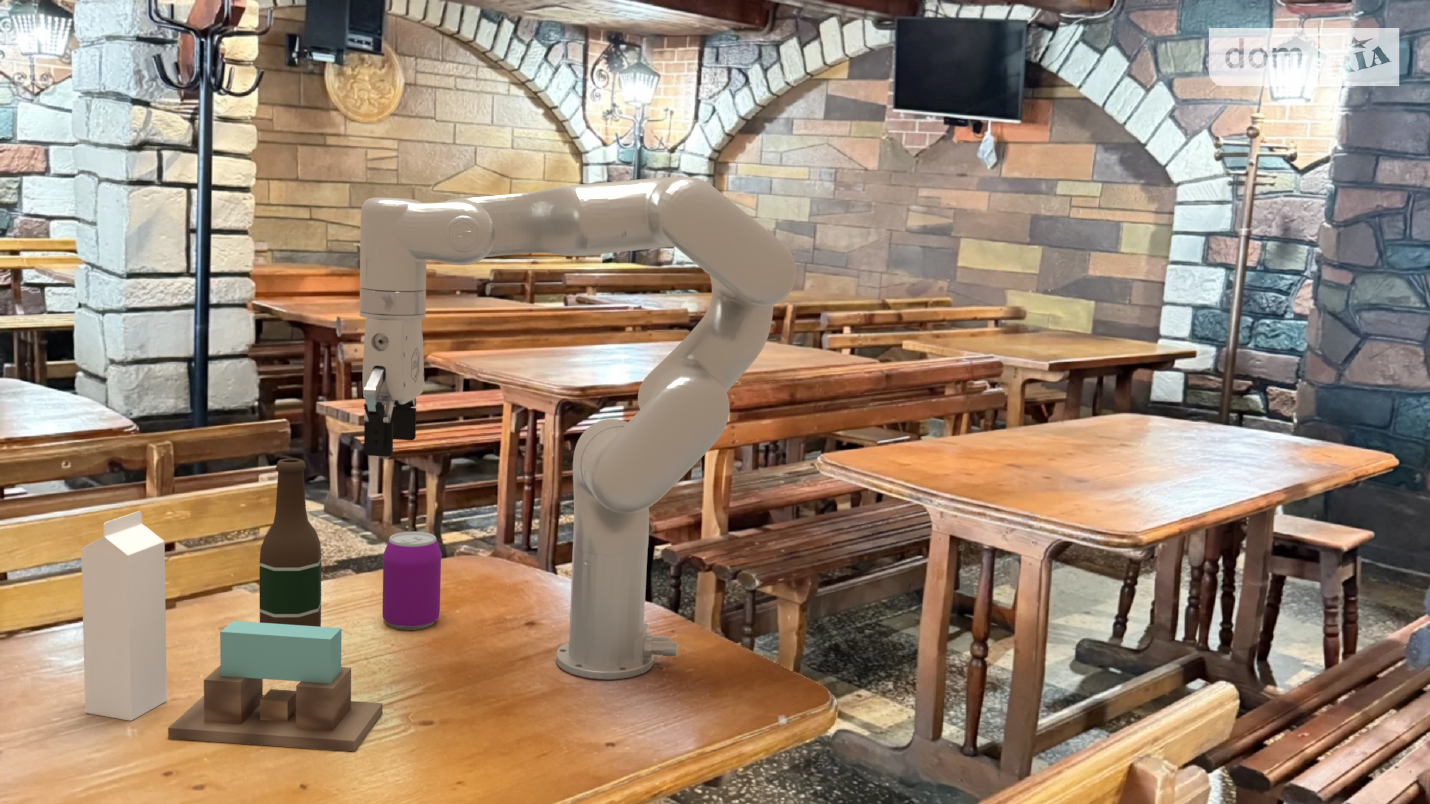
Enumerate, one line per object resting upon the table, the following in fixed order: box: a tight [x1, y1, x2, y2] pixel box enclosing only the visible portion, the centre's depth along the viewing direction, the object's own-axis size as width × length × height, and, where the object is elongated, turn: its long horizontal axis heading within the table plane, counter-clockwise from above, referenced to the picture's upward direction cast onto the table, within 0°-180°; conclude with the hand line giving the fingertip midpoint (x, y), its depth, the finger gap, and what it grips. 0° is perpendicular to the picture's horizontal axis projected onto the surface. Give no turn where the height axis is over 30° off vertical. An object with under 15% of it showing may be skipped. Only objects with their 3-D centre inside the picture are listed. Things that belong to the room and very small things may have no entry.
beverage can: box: [381, 531, 442, 631], centre depth 172 cm, size 8×8×12 cm
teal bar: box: [219, 620, 343, 683], centre depth 137 cm, size 12×4×5 cm, turn 88°
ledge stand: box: [167, 665, 384, 753], centre depth 138 cm, size 20×10×6 cm, turn 88°
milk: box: [80, 510, 168, 722], centre depth 139 cm, size 6×6×22 cm
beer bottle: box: [258, 457, 322, 627], centre depth 161 cm, size 8×8×24 cm
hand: (390, 447), depth 150 cm, fingers open, 9 cm apart
